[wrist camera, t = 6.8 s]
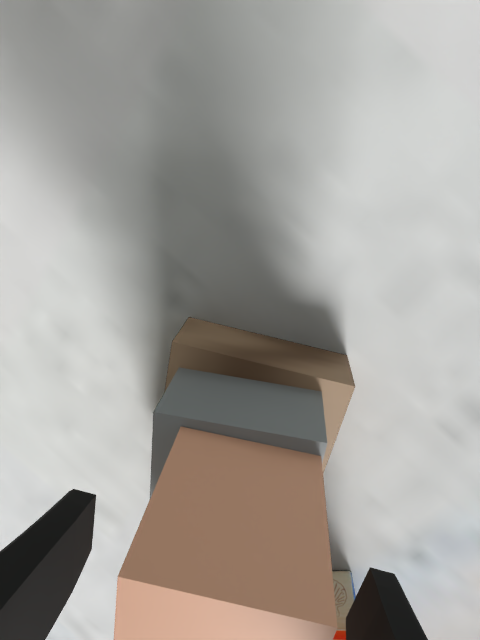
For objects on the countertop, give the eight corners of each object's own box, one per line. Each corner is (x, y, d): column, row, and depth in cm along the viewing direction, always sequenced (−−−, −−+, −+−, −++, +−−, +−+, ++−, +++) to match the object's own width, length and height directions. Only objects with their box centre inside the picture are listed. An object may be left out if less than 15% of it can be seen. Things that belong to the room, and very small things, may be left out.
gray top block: (321, 391, 15) (327, 443, 12) (297, 501, 17) (297, 566, 14) (178, 367, 16) (153, 412, 13) (171, 477, 18) (148, 536, 15)
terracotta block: (321, 455, 13) (337, 627, 8) (291, 555, 14) (290, 743, 10) (180, 426, 13) (118, 576, 8) (168, 527, 15) (109, 698, 10)
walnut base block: (345, 351, 18) (355, 386, 15) (304, 472, 20) (305, 521, 18) (191, 313, 18) (172, 341, 15) (170, 438, 21) (150, 481, 18)
